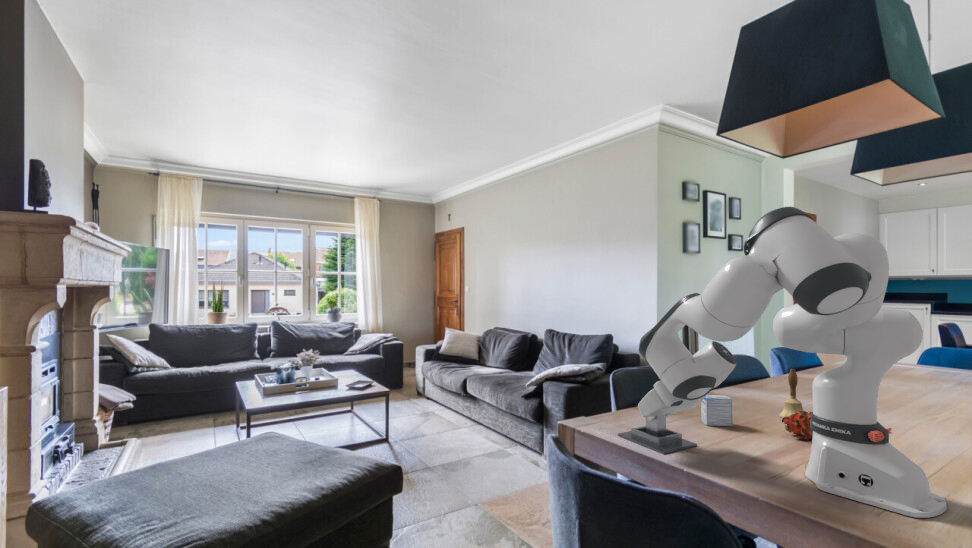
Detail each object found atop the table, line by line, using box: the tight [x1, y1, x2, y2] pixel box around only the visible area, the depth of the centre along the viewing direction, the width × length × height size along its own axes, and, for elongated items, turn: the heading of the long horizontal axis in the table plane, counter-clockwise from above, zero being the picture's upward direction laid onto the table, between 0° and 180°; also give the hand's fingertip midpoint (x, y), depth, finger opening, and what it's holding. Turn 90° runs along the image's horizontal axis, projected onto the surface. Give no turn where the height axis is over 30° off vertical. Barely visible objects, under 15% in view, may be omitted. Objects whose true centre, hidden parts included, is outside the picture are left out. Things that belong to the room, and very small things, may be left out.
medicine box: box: [700, 394, 734, 427], centre depth 139 cm, size 8×4×9 cm, turn 84°
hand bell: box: [778, 368, 804, 419], centre depth 147 cm, size 8×8×16 cm
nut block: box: [645, 414, 667, 438], centre depth 123 cm, size 4×4×9 cm
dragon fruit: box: [781, 410, 813, 442], centre depth 126 cm, size 8×8×12 cm
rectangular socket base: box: [617, 425, 698, 455], centre depth 123 cm, size 16×13×3 cm
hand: (655, 417), depth 123 cm, fingers closed on nut block, 3 cm apart
